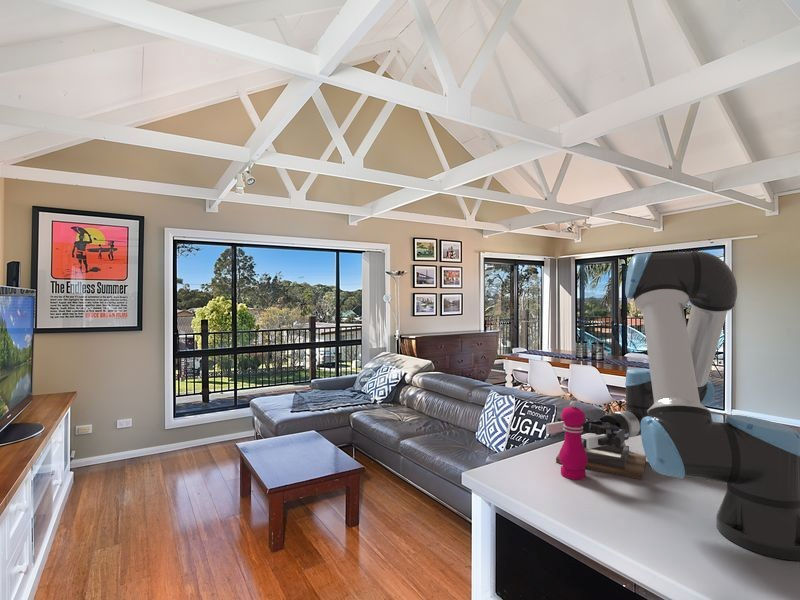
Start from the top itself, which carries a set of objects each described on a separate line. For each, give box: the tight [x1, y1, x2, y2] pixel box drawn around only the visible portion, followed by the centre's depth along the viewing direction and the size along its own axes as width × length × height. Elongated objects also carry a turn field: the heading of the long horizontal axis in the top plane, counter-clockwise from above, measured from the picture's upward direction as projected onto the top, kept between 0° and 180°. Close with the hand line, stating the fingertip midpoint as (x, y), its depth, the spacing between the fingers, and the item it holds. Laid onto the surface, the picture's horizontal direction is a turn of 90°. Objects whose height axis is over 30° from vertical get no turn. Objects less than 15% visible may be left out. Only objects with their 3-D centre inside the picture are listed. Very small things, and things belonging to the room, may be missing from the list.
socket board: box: [555, 437, 647, 481], centre depth 125 cm, size 16×22×4 cm
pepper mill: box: [558, 400, 588, 481], centre depth 115 cm, size 7×7×20 cm
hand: (566, 435), depth 114 cm, fingers open, 13 cm apart
